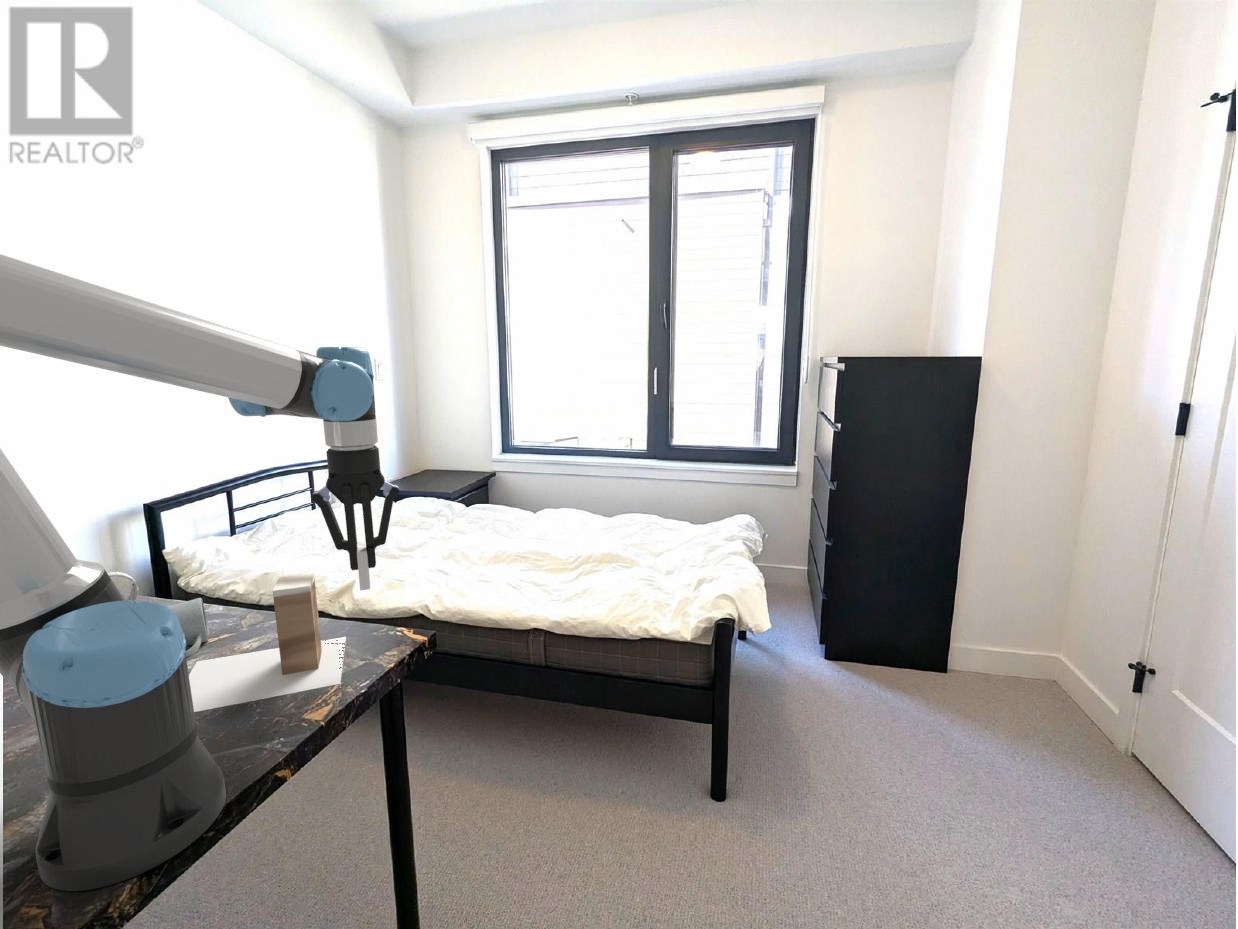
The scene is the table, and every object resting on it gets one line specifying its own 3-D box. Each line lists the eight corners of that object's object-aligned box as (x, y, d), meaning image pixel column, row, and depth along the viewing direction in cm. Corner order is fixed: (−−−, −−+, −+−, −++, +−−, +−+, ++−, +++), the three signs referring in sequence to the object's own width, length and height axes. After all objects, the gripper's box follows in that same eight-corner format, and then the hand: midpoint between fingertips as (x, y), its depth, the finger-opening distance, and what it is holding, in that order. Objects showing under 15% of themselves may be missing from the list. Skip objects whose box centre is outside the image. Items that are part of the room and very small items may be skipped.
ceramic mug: (151, 644, 98) (144, 603, 97) (208, 630, 103) (203, 591, 102) (148, 671, 90) (140, 627, 89) (211, 655, 95) (205, 613, 93)
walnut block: (318, 668, 90) (309, 586, 87) (282, 675, 88) (272, 590, 85) (321, 651, 95) (314, 572, 93) (288, 656, 93) (279, 577, 91)
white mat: (340, 686, 86) (340, 683, 86) (163, 720, 77) (162, 718, 77) (346, 638, 100) (346, 636, 100) (197, 663, 92) (196, 661, 92)
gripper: (396, 440, 95) (406, 573, 99) (308, 445, 90) (323, 584, 94) (397, 447, 88) (408, 589, 92) (302, 452, 83) (319, 602, 87)
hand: (365, 586), depth 93 cm, fingers closed
